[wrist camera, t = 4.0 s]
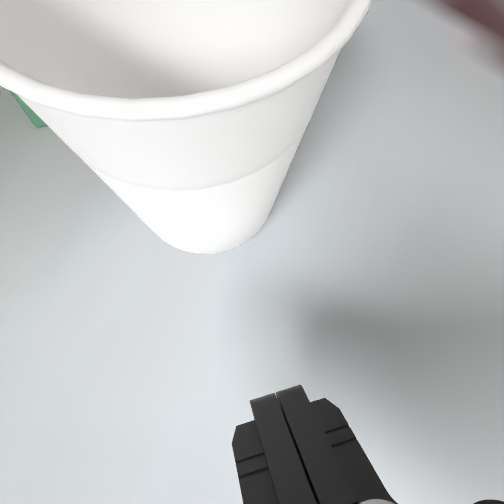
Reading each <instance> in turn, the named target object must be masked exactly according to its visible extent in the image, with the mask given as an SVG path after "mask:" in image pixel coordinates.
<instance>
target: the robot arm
mask: <svg viewBox="0 0 504 504" xmlns="http://www.w3.org/2000/svg"><path fill="white" fill-rule="evenodd" d="M276 396H277V398H276ZM250 404H251V408H252V412H253V416H254V421H251V422H247V423H244V424H241V425H238V426H236V430H235V433H234V437H233V441H232V447H233V452H234V457H235V462H236V467H237V472H238V477H239V483H240V488H241V493H242V498H243V503H244V504H398V503H396V502H395V501H394V500H393V499H392V497H391V496H390V495H389V494H388V492H387V491H386V489H385V487H384V485H383V484H382V482H381V480H380V478H379V477H378V475H377V473H376V472H375V470H374V468H373V466H372V465H371V463H370V461H369V459H368V458H367V456H366V454H365V452H364V451H363V449H362V447H361V445H360V444H359V442H358V441H357V440H356V437H355V435H354V433H353V432H352V430H351V428H349V425H348V423H347V421H346V419H345V418H344V416H343V414H342V413H341V411H340V409H339V408H338V407H336V406H335V405H334V404H332V403H331V402H330V401H328V400H327V399H326V398H323V399H320V400H316V401H313V402H309V400H308V398H307V395H306V393H305V391H304V389H303V387H302V386H301V385H298V386H295V387H292V388H288V389H285V390H282V391H279V392H276V395H275V393H273V394H269V395H266V396H263V397H260V398H256V399H253V400H250ZM474 504H504V502H503V501H499V500H482V501H478V502H476V503H474Z"/></svg>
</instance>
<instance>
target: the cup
mask: <svg viewBox="0 0 504 504" xmlns="http://www.w3.org/2000/svg"><path fill="white" fill-rule="evenodd" d="M370 3H371V0H0V86H2V87H4V88H6V89H8V90H10V91H12V92H14V93H16V94H17V95H18V96H19V97H20V98H21V99H22V100H23V101H24V102H25V103H26V104H27V105H28V106H29V107H30V108H31V109H32V110H33V111H34V112H35V113H36V114H37V115H38V116H39V117H40V118H41V119H42V120H43V121H44V122H45V123H46V124H47V125H48V126H49V127H50V128H51V129H52V130H53V131H54V132H55V133H56V134H57V135H58V136H59V137H60V138H61V139H62V140H63V141H64V142H65V143H66V144H67V145H68V146H69V147H70V148H71V149H72V150H73V151H74V152H75V153H76V154H77V155H78V156H79V157H81V159H82V160H83V161H84V162H85V163H86V164H87V165H89V167H90V168H91V169H92V170H93V171H94V172H95V173H96V174H97V175H98V176H99V177H100V178H101V179H102V180H103V181H104V182H105V183H106V184H107V185H108V186H109V187H110V188H111V189H112V190H113V191H114V192H115V193H116V194H117V195H118V196H119V197H120V198H121V199H122V200H123V201H124V202H125V203H126V204H127V205H128V206H129V207H130V208H131V209H132V210H133V211H134V212H135V213H136V214H137V215H138V216H139V217H140V219H141V220H142V221H143V222H144V223H145V224H146V225H147V226H148V227H149V228H150V229H151V230H152V231H153V232H154V233H155V234H156V235H158V236H159V237H160V238H161V239H162V240H163V241H165V242H166V243H168V244H170V245H171V246H173V247H175V248H177V249H180V250H184V251H187V252H192V253H200V254H208V253H218V252H222V251H226V250H230V249H232V248H235V247H237V246H239V245H241V244H243V243H244V242H246V241H247V240H249V239H250V238H252V237H253V236H254V235H255V234H256V233H257V232H258V231H259V230H260V229H261V228H262V226H263V224H264V223H265V221H266V220H267V218H268V216H269V214H270V211H271V209H272V207H273V204H274V202H275V200H276V197H277V195H278V193H279V190H280V187H281V186H282V183H283V181H284V179H285V176H286V174H287V172H288V169H289V167H290V165H291V162H292V160H293V158H294V155H295V152H296V151H297V149H298V146H299V143H300V142H301V139H302V136H303V134H304V132H305V130H306V127H307V124H308V123H309V121H310V119H311V117H312V115H313V112H314V110H315V108H316V105H317V103H318V101H319V98H320V96H321V94H322V92H323V89H324V87H325V85H326V82H327V80H328V78H329V75H330V73H331V71H332V69H333V66H334V64H335V62H336V59H337V57H338V55H339V52H340V50H341V48H342V47H343V46H344V45H345V44H346V43H347V42H348V41H349V39H350V38H351V36H352V35H353V33H354V32H355V30H356V29H357V28H358V26H359V25H360V23H361V22H362V20H363V19H364V17H365V16H366V14H367V13H368V10H369V7H370Z"/></svg>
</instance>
